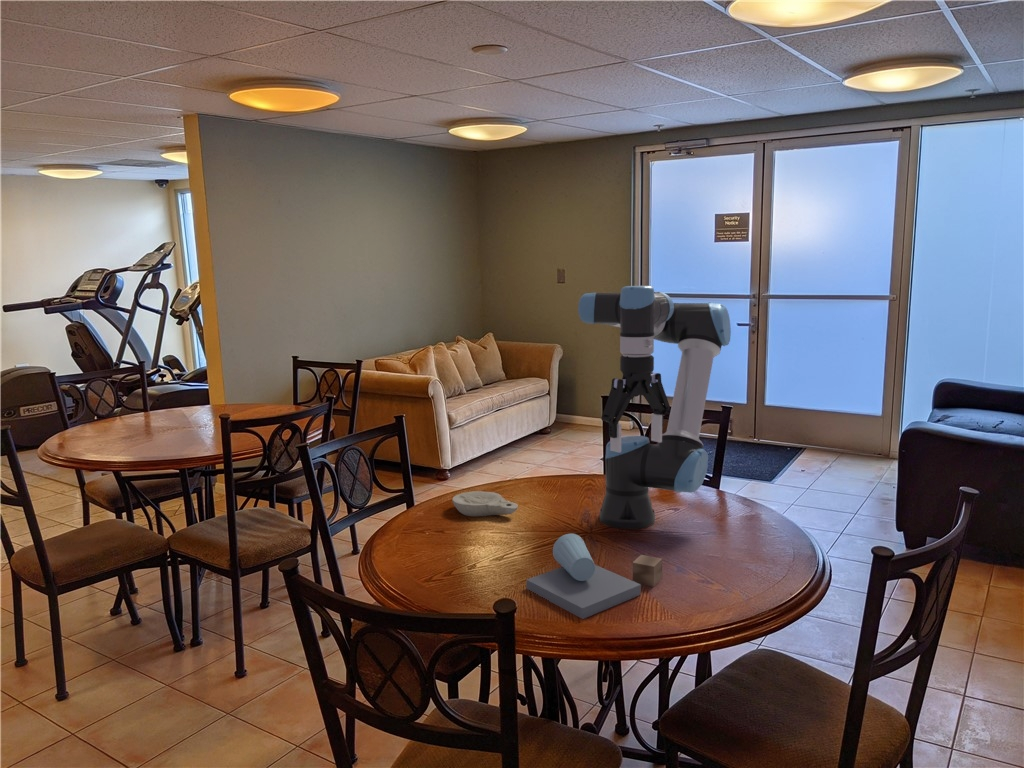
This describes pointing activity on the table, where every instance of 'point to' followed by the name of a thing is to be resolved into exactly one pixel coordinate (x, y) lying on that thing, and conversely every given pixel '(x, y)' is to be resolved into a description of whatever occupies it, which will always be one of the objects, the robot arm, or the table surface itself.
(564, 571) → the plinth
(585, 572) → the cup
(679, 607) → the table surface
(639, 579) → the walnut block
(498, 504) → the oil lamp
